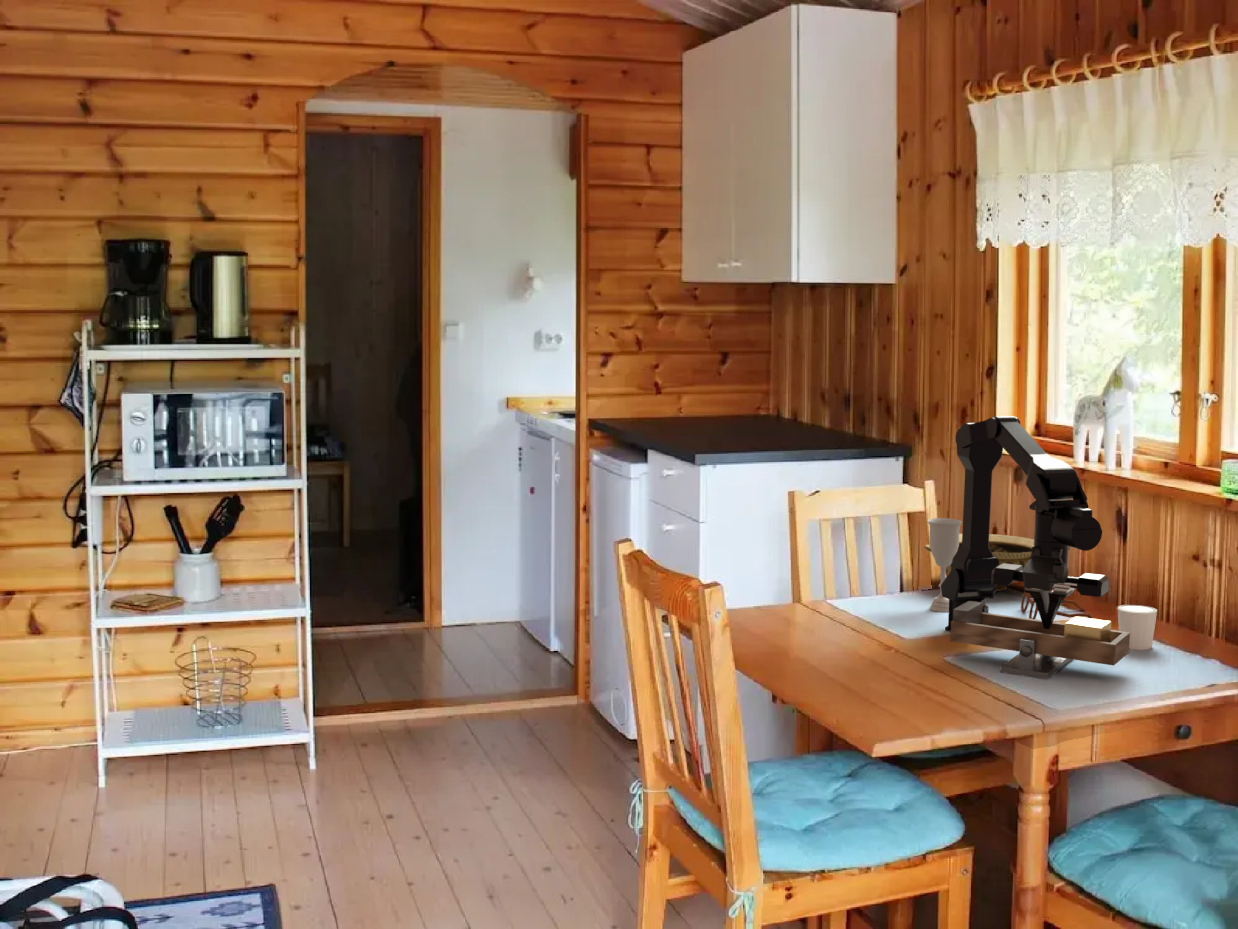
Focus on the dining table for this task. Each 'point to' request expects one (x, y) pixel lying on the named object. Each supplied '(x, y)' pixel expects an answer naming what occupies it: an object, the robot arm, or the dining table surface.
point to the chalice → (943, 552)
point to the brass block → (1088, 629)
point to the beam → (1032, 636)
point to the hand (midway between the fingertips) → (1047, 628)
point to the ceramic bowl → (1005, 551)
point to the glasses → (1057, 612)
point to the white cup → (1138, 625)
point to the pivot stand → (1033, 662)
